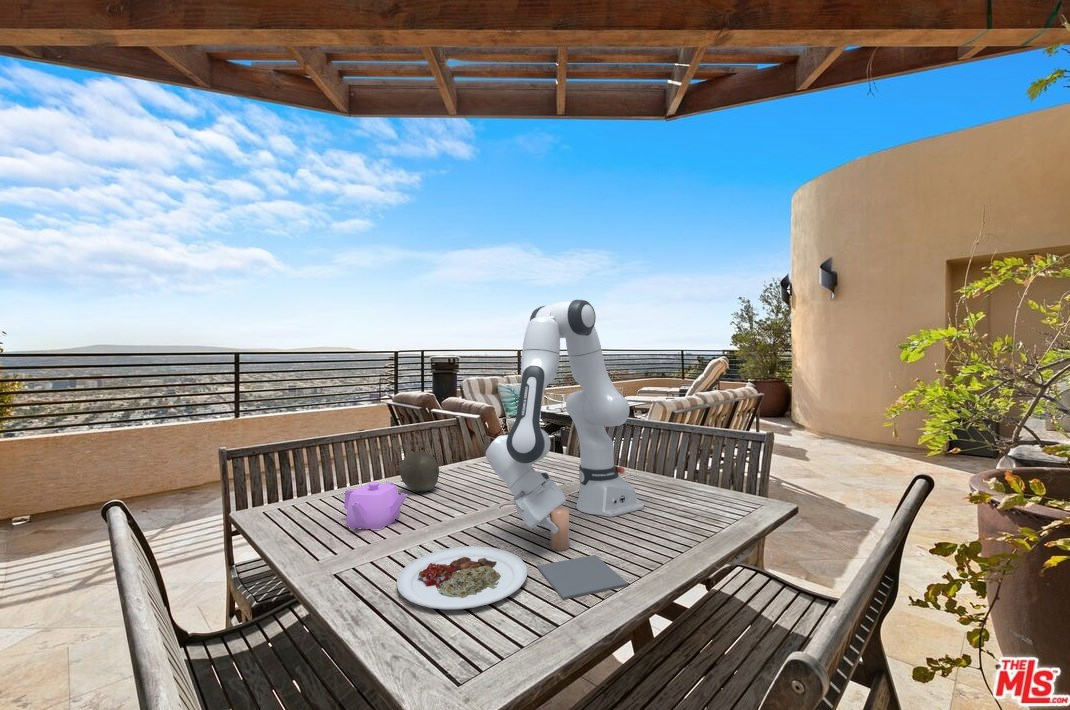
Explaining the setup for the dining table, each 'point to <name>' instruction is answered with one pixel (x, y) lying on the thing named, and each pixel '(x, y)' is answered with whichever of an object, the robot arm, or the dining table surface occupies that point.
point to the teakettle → (373, 505)
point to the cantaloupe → (419, 471)
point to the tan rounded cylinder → (562, 536)
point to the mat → (581, 576)
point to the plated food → (462, 577)
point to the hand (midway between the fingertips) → (561, 527)
